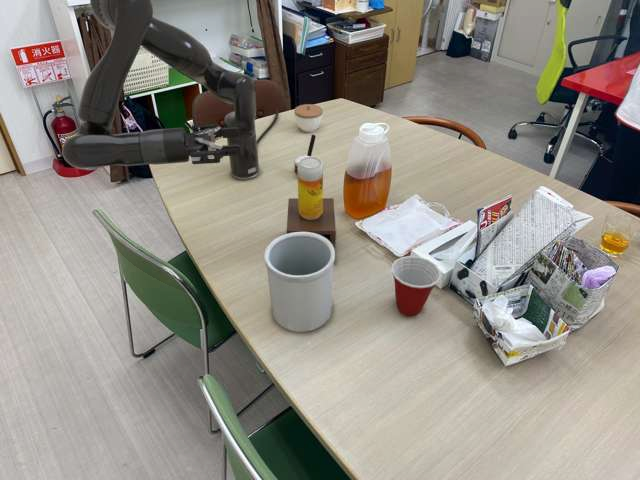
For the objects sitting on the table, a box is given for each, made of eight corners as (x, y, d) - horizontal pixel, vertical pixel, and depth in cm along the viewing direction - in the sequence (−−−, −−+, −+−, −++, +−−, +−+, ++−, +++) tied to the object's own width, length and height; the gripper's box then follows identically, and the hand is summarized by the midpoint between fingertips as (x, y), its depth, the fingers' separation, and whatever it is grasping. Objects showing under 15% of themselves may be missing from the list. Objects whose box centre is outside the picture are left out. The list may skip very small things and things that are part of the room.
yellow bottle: (319, 222, 115) (320, 170, 105) (296, 219, 116) (294, 167, 106) (324, 208, 119) (325, 157, 110) (301, 205, 120) (300, 154, 111)
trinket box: (312, 137, 174) (312, 114, 168) (289, 130, 178) (288, 107, 172) (327, 127, 181) (328, 104, 175) (305, 120, 185) (304, 97, 179)
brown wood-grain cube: (290, 230, 130) (288, 198, 123) (332, 230, 130) (333, 198, 123) (288, 264, 119) (286, 230, 112) (334, 263, 119) (335, 230, 112)
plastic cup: (435, 296, 111) (444, 259, 103) (428, 329, 103) (437, 292, 95) (391, 285, 113) (396, 248, 106) (381, 317, 105) (386, 279, 98)
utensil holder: (257, 304, 108) (251, 247, 97) (309, 278, 115) (308, 222, 104) (292, 345, 99) (289, 288, 88) (346, 314, 106) (349, 257, 95)
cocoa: (296, 181, 150) (295, 147, 142) (288, 172, 154) (287, 139, 147) (322, 173, 154) (322, 141, 146) (313, 165, 158) (313, 133, 150)
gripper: (158, 146, 93) (239, 139, 96) (163, 116, 104) (235, 111, 107) (166, 178, 98) (242, 171, 101) (170, 146, 109) (239, 140, 111)
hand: (239, 140), depth 104 cm, fingers open, 8 cm apart
